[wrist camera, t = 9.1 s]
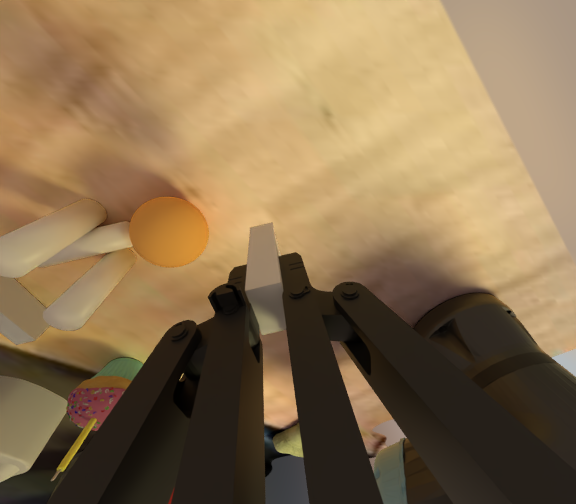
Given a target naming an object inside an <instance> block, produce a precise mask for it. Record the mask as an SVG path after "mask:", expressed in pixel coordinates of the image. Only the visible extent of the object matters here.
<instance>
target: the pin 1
mask: <svg viewBox="0 0 576 504" xmlns="http://www.w3.org/2000/svg"><path fill="white" fill-rule="evenodd" d="M106 217H107V213H106V211H105V209H104V207H103V206H102V205H101V204H99V203H98V202H96V201H94V200H91V199H82V200H79V201H77V202H75V203H73V204H71V205H68V206H66V207H64V208H62V209H60V210H58V211H55V212H53V213H51V214H49V215H47V216H44V217H42V218H40V219H38V220H36V221H34V222H31V223H29V224H27V225H25V226H23V227H21V228H18V229H16V230H14V231H12V232H10V233H7V234H5V235H3V236H1V237H0V276H4V277H9V278H18V277H22V276H24V275H26V274H27V273H29V272H30V271H32V270H33V269H34V268H36V267H37V266H39V265H40V264H42V263H43V262H45V261H46V260H48V259H49V258H51V257H52V256H54V255H55V254H57V253H58V252H60V251H61V250H63V249H64V248H66V247H67V246H69V245H70V244H72V243H73V242H74V241H76V240H77V239H79V238H80V237H82V236H83V235H85V234H86V233H88V232H89V231H91V230H92V229H94V228H95V227H97V226H98V225H100V224H101V223H103V222H104V221H105V220H106Z"/></svg>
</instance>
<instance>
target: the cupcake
mask: <svg viewBox="0 0 576 504" xmlns="http://www.w3.org/2000/svg"><path fill="white" fill-rule="evenodd" d="M142 366H143V364H142V363H141V362H139V361H137V360H135V359H131V358H118V359H114V360H112V361H111V362H109V363H108V364H107V365H106V366H105V367H104V368H103V369H102V370H101V371H100V372H99V373H98V374H96V375H95V376H94V377H93V378H91V379H88V380H85V381H83V382H82V383H81V384H80V385H79V386H78V387H77V388H76V389H74V390H73V391H72V392H71V393H70V395H69V397H68V403H67V407H66V410H67V411H66V412H68V413H69V414H68V415H69V418H70V421H73V422H74V423H75V424H76V426H78V427H79V428H84V429H83V431H82V432H81V434H80V435H79V437H78V438H77V440H76V441H75V443H74V444H73V446H72V447H71V448H70V450H69V451H68V453H67V454H66V456H65V457H64V459H63V460H62V462H61V463H60V465H59V466H58V468H57V470H58V471H57V473H56V474H55V475H54V477H53V478H52V479H51V481H53V480H54V479H55V478H56V476H57V475H58V474H59V472H60V471H64V470H65V469H66V467H67V465H68V464H69V462H70V461H71V459H72V458H73V456H74V455H75V453H76V452H77V450H78V449H79V447H80V446H81V444H82V443H83V441H84V439H85V438H86V436H87V435H88V433H89V432H90V430H92V431H97V430H98V429H99V427H100V426H101V425H102V423H103V422H104V420H105V419H106V417H107V416H108V415H109V413H110V412H111V410H112V409H113V407H114V406H115V405H116V403H117V402H118V400H119V399H120V397H121V396H122V395H123V393H124V392H125V390H126V389H127V387H128V386H129V385H130V383H131V382H132V380H133V379H134V377H135V376H136V375H137V373H138V372H139V370H140V369H141V367H142Z"/></svg>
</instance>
